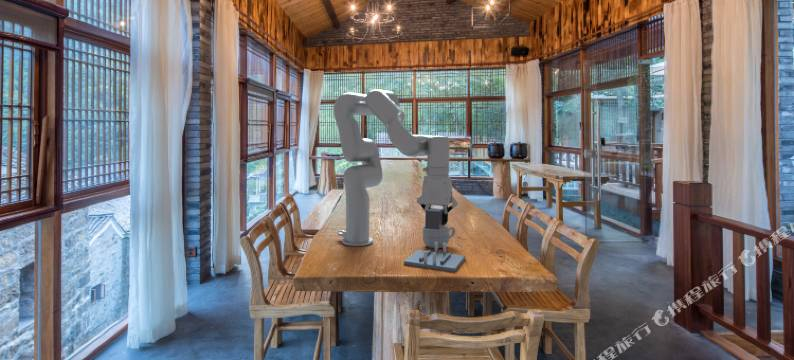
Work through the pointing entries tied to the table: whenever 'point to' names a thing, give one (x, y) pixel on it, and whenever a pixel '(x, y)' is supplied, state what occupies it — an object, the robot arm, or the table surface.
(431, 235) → the teacup
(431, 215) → the block
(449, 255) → the grey stand
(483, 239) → the table surface
